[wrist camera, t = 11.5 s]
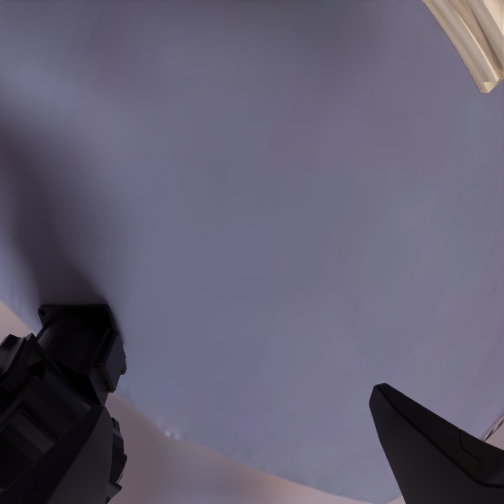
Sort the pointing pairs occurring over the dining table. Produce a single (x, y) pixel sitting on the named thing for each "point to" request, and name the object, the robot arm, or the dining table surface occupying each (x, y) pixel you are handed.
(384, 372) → the dining table surface
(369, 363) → the dining table surface
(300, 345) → the dining table surface
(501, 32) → the offcut rack
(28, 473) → the robot arm
